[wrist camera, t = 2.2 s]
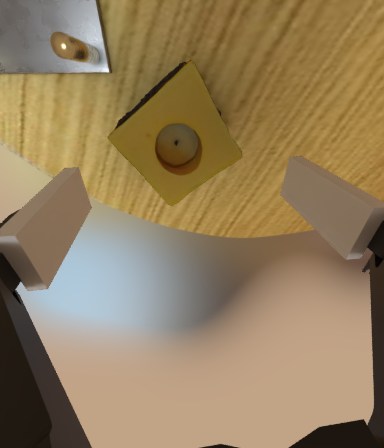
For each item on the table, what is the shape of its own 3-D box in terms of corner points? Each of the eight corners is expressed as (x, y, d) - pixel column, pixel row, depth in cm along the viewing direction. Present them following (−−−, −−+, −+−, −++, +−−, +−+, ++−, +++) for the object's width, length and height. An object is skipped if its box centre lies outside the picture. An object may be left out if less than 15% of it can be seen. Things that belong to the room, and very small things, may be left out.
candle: (182, 60, 25) (192, 52, 17) (224, 134, 30) (248, 155, 22) (119, 117, 27) (101, 134, 19) (168, 175, 33) (170, 208, 25)
